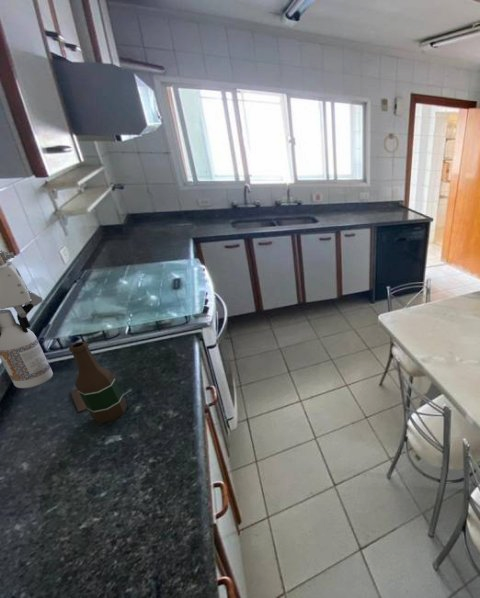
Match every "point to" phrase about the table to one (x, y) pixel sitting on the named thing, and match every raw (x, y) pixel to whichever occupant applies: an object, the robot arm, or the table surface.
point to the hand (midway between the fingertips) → (12, 332)
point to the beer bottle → (97, 386)
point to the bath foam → (22, 354)
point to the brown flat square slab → (79, 400)
